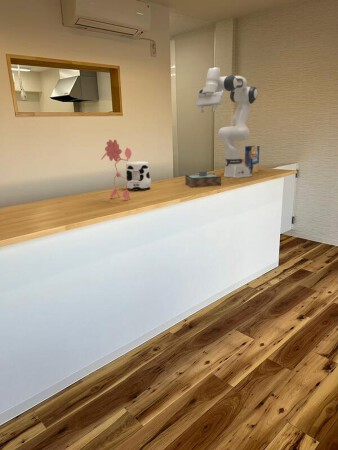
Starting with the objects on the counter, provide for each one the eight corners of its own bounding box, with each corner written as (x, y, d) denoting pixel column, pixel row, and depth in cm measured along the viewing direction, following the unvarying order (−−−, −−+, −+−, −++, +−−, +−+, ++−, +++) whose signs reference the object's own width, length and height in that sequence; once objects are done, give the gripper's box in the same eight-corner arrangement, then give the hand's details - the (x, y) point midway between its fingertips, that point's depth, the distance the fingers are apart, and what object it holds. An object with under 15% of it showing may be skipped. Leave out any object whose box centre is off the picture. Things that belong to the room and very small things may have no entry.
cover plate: (212, 175, 241) (212, 169, 240) (217, 178, 230) (217, 171, 228) (188, 177, 238) (188, 170, 236) (192, 179, 226) (192, 173, 225)
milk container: (143, 185, 238) (142, 160, 233) (156, 189, 224) (155, 162, 219) (121, 188, 229) (120, 162, 224) (133, 192, 215) (131, 164, 210)
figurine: (111, 195, 208) (105, 138, 197) (141, 200, 192) (136, 138, 181) (92, 200, 196) (85, 140, 185) (122, 206, 181) (116, 140, 170)
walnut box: (214, 182, 244) (214, 173, 242) (221, 185, 230) (221, 176, 228) (185, 184, 240) (185, 175, 238) (190, 187, 226) (190, 178, 224)
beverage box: (258, 171, 290) (259, 145, 284) (250, 172, 284) (251, 146, 277) (251, 170, 295) (253, 145, 289) (244, 172, 289) (245, 146, 282)
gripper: (226, 91, 219) (222, 112, 219) (201, 94, 232) (198, 114, 233) (221, 88, 214) (217, 109, 215) (196, 91, 227) (193, 111, 228)
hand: (207, 112), depth 224 cm, fingers open, 8 cm apart
